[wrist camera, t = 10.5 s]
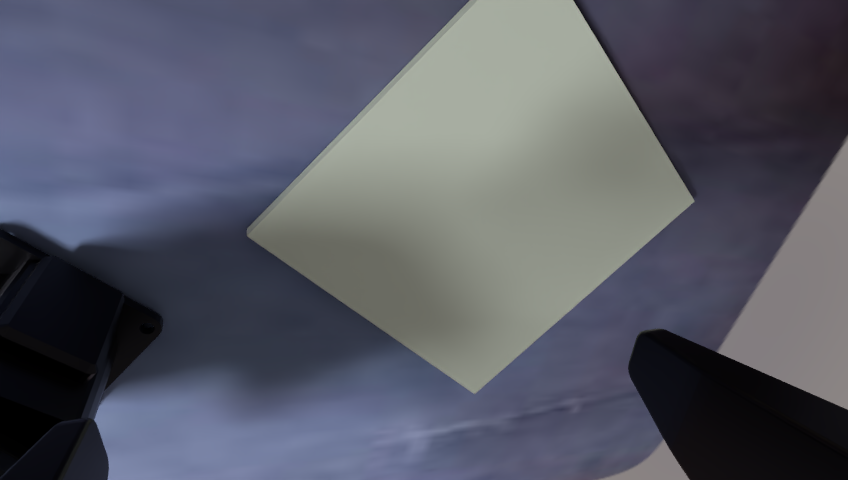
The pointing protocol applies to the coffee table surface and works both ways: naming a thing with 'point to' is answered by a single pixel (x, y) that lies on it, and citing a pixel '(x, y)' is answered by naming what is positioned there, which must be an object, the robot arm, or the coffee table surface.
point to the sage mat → (481, 189)
